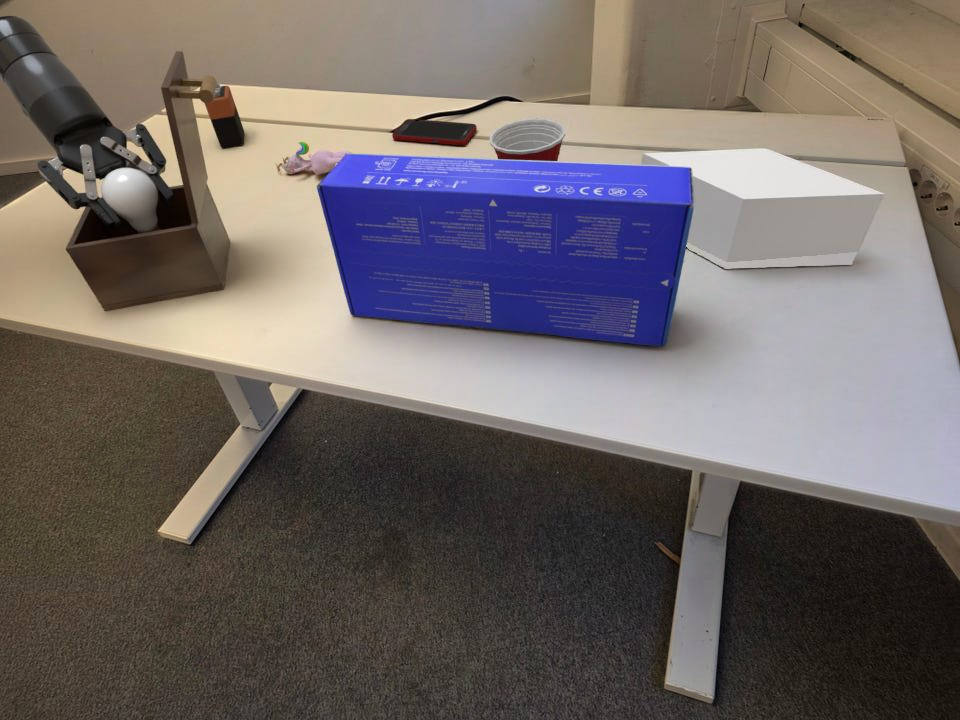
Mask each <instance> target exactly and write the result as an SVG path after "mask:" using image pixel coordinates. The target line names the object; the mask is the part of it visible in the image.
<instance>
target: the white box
mask: <svg viewBox="0 0 960 720" xmlns="http://www.w3.org/2000/svg"><path fill="white" fill-rule="evenodd" d="M640 165H659V166H683V167H691V169H692V172H693V187H694V210H693V215H692V220H691V225H690V230H689V235H688V240H687V243H690V244H691V245H693V246H696V247H697V248H699V249H701V250H703V251H706V252H707V253H710V254H712V255H714V256H715V257H718V258H719V259H722V260H723V261H725V262H737V261H738V262H739V261H752V260H753V261H754V260H766V259H776V258H777V259H778V258H789V257H790V258H791V257H802V256H817V255H827V254H828V255H829V254H839V253H849V252H850V253H851V252H853V253H854V252H858V253H859V252H860V249H861V247H862V245H863V243H864V241H865V239H866V236H867V234H868V233H869V230H870V228H871V225H872V224H873V221H874V218H875V216H876V214H877V213H878V212H877V211H878V209H879V208H880V206H881V203H882V200H883V199H884V196H885V193H884V192H881V191H878V190H876V189H873V188H870V187H868V186H865V185H862V184H861V183H857V182H855V181H852V180H850V179H847V178H844V177H842V176H839V175H837V174H834V173H831V172H829V171H826V170H823V169H821V168H818V167H815V166H813V165H811V164H808V163H805V162H803V161H801V160H797V159H796V158H795V159H794V158H792V157H789V156H786V155H784V154H782V153H779V152H777V151H774V150H772V149H768V148H766V147H764V148H762V147H761V148H739V149H738V148H737V149H716V150H714V149H712V150H711V149H710V150H692V151H691V150H690V151H667V152H666V151H664V152H643V153H642V157H641V163H640Z"/></svg>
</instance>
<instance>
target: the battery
mask: <svg viewBox="0 0 960 720" xmlns="http://www.w3.org/2000/svg"><path fill="white" fill-rule="evenodd" d="M204 106H205V109H206V111H207V114H208V117H209V119H210V122H211V125H212V127H213V130H214V133H215V135H216V139H217V141H218V144H219V146H220V148H221V149H226V148H232V147H238V146H243V145H244V141H245V128H244V127H243V126H244V125H243V123H242V120H241V117H240V115H239V111H238V109H237V105H236V102H235V100H234V96H233V94H232V91H231V88H230V86H229V85H220V83H217V87H216V91H215V95H214V100H213V101H212V102H211V103H208V104H207V103H204Z"/></svg>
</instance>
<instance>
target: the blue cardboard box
mask: <svg viewBox="0 0 960 720" xmlns="http://www.w3.org/2000/svg"><path fill="white" fill-rule="evenodd" d="M316 190H317V194H318V197H319V202H320V205H321V209H322V212H323V216H324V217H323V218H324V220H325V224H326V228H327V232H328V235H329V239H330V243H331V247H332V250H333V253H334V257H335V261H336V265H337V269H338V273H339V277H340V281H341V285H342V288H343V292H344V296H345V301H346V303H347V307H348V311H349V313H350V315H351V316H354V317H358V318H359V317H360V318H376V319H383V320H395V321H403V322H413V323H423V324H424V323H425V324H432V325H433V324H434V325H446V326H452V327H453V326H454V327H463V328H473V329H482V330H495V331H504V332H506V331H507V332H516V333H524V334H525V333H526V334H536V335H549V336H559V337H566V338H567V337H568V338H575V339H585V340H593V341H603V342H614V343H622V344H631V345H632V344H633V345H643V346H653V347H667V345H668V340H669V337H670V336H669V335H670V330H671V326H672V321H673V316H674V310H675V306H676V302H677V301H676V300H677V296H678V291H679V286H680V281H681V275H682V272H683V265H684V262H685V261H684V260H685V255H686V251H687V249H686V245H687V240H688V235H689V230H690V225H691V220H692V215H693V210H694V187H693V172H692V169H691V167H683V166H659V165H641V164H631V163H607V162H605V163H604V162H583V161H581V162H580V161H533V160H505V159H498V158H479V157H478V158H475V157H472V158H470V157H451V156H449V157H447V156H427V155H425V156H424V155H421V156H420V155H396V154H373V153H372V154H371V153H353V154H347V153H346V154H345V156H344V157H343V158H342V159H341V160H340V161H339V162H338V163H336V164H335V167H334V168H333V169H332V170H331V171H329V172H328V174H326V176H324V177H323V178H322V179H321V180H320V182H318V184H317V185H316Z"/></svg>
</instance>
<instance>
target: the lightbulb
mask: <svg viewBox="0 0 960 720" xmlns="http://www.w3.org/2000/svg"><path fill="white" fill-rule="evenodd" d="M100 196H101V198H103V199H104V200H105V201H106V203H107V204H108V205H109V207H110V208H111V209H112V210H113V212H114V213H115V214H116V215H118V216H120V217H121V218H123V219H125V220H126V221H128V222H129V223H130V225H131V226H132V227H133V228H134V229H135V230H137V232H138V233H139V234H141V233H147V232H153V231H159V230H160V228H159V225H158V218H157V214H156V208H157V204H158V191H157V188H156V186H155V184H154V182H153V181H152V180H151V178H150V177H149V176H147V175H146V174H145V173H143V172H141V171H139V170H137V169H133V168H119V169H116V170H113V171H112V172H110V173H109V174H108V175H107V176H106V177H105V178H104V179H102V183H101V186H100Z"/></svg>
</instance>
